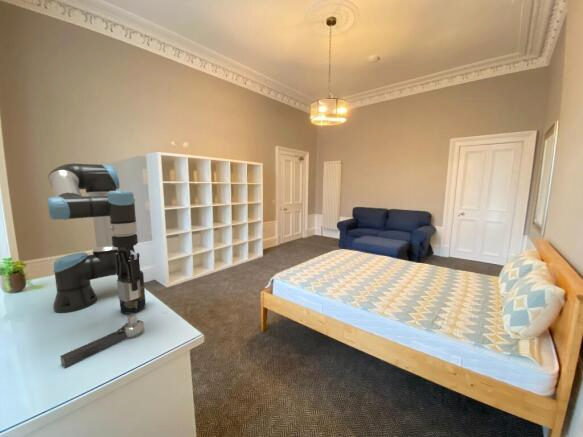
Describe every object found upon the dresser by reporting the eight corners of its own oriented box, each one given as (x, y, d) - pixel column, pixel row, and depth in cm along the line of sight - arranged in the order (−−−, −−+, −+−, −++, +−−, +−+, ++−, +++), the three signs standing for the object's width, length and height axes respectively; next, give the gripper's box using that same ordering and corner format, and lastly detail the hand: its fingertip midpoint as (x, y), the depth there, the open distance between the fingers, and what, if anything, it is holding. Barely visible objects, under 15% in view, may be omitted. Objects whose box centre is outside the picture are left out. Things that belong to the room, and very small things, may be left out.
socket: (118, 298, 89) (116, 279, 88) (133, 293, 93) (132, 275, 92) (125, 302, 86) (123, 282, 85) (141, 296, 90) (139, 277, 90)
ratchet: (59, 361, 77) (56, 340, 76) (138, 325, 97) (136, 308, 96) (67, 370, 73) (64, 348, 72) (147, 331, 93) (146, 313, 92)
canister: (118, 317, 103) (114, 276, 101) (122, 307, 111) (118, 269, 109) (145, 311, 107) (142, 272, 105) (146, 302, 116) (143, 265, 113)
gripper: (100, 233, 88) (107, 294, 91) (125, 239, 79) (131, 307, 82) (123, 230, 95) (129, 287, 98) (149, 235, 85) (154, 298, 88)
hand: (130, 296), depth 90 cm, fingers closed on socket, 5 cm apart
